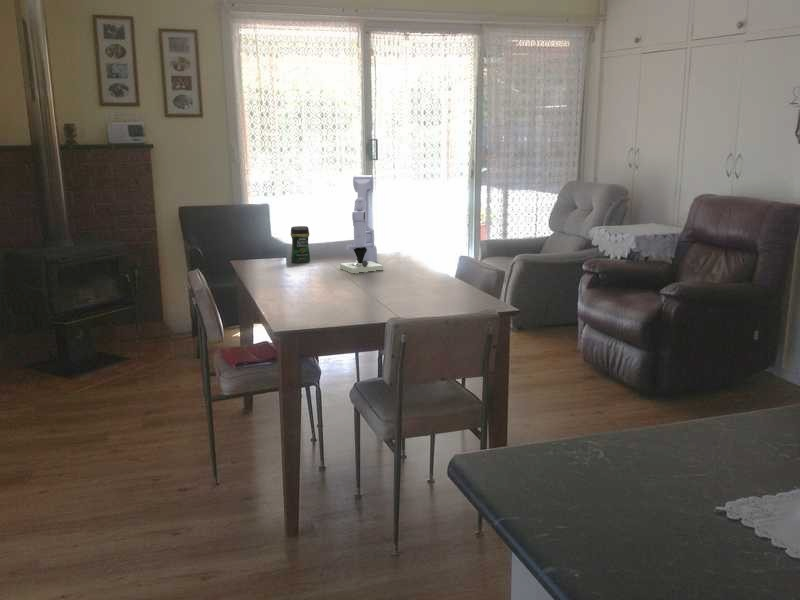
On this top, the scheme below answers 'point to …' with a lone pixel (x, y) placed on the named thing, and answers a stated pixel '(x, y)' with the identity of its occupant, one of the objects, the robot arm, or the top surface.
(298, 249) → the coffee jar
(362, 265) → the black rubber ball
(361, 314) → the top surface
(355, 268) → the sage board
